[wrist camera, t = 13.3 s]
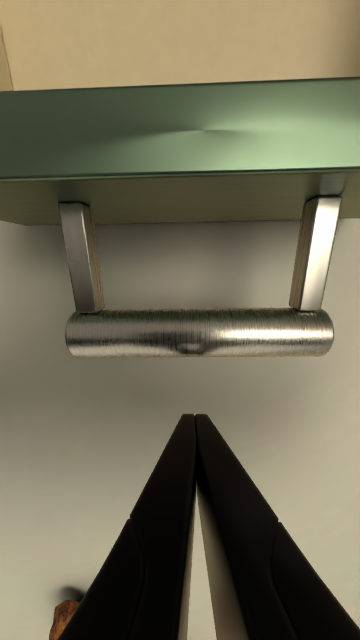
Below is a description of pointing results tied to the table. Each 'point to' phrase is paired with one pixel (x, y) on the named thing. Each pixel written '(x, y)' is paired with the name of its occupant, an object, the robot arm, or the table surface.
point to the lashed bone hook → (62, 617)
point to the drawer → (183, 148)
